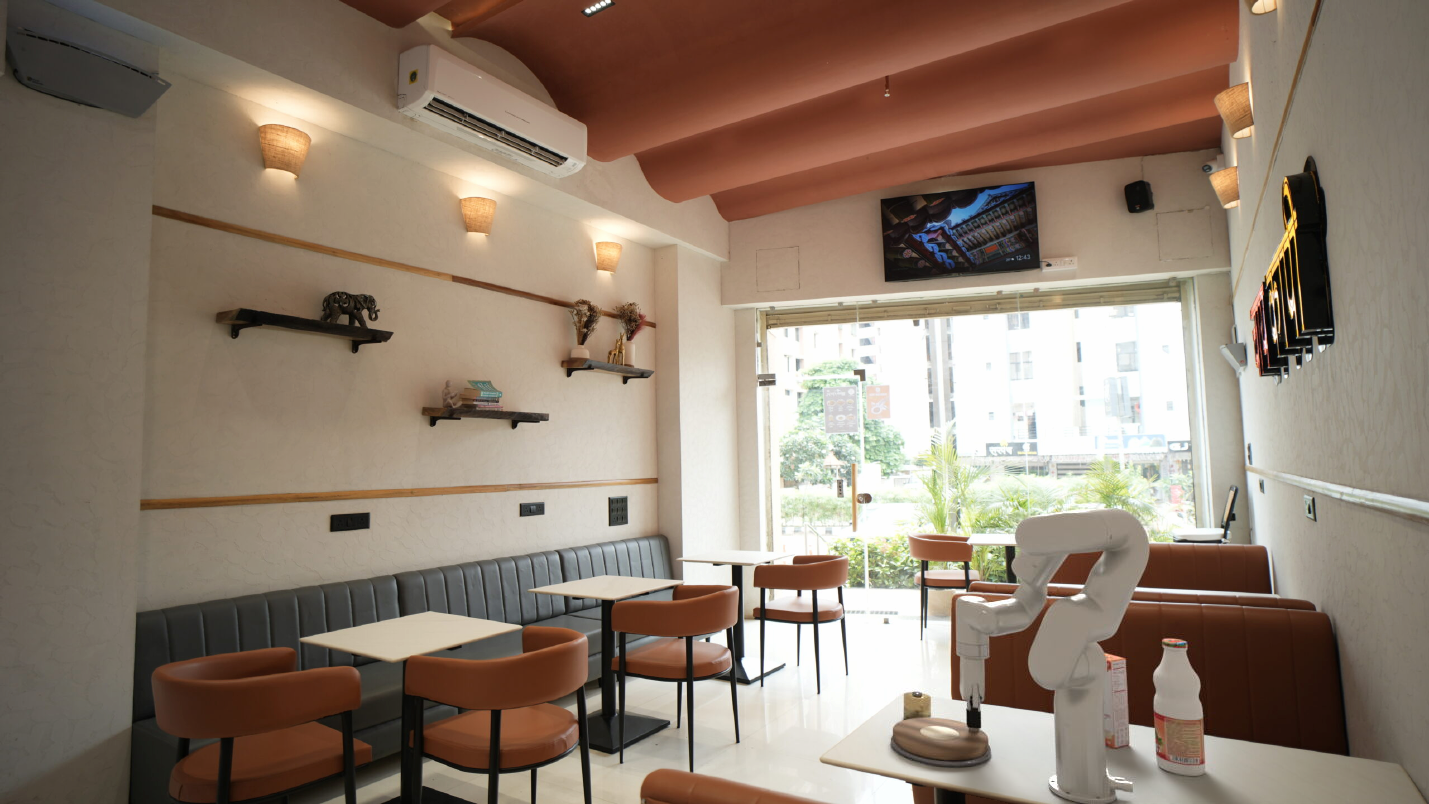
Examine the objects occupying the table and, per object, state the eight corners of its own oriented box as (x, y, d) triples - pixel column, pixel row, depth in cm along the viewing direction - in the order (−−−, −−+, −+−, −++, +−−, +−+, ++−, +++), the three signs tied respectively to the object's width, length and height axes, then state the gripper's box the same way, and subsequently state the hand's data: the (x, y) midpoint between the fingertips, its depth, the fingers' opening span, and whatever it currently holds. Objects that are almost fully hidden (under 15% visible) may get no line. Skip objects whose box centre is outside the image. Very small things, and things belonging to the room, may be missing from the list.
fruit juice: (1188, 780, 161) (1181, 647, 163) (1146, 764, 169) (1141, 638, 171) (1215, 772, 165) (1208, 643, 167) (1173, 756, 173) (1167, 634, 175)
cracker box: (1064, 730, 190) (1061, 646, 192) (1080, 726, 193) (1077, 644, 194) (1113, 749, 178) (1110, 660, 179) (1130, 745, 180) (1127, 657, 182)
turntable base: (993, 738, 185) (993, 734, 185) (987, 774, 164) (987, 769, 164) (899, 725, 194) (899, 721, 194) (882, 757, 173) (882, 753, 173)
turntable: (908, 719, 194) (908, 697, 195) (997, 736, 183) (996, 712, 183) (880, 747, 176) (879, 722, 176) (976, 767, 164) (975, 741, 164)
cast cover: (934, 718, 200) (934, 692, 200) (926, 725, 194) (926, 698, 194) (908, 713, 203) (908, 687, 204) (899, 719, 198) (900, 693, 198)
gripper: (953, 640, 188) (954, 714, 187) (959, 656, 173) (960, 736, 172) (985, 642, 186) (986, 717, 185) (993, 658, 172) (994, 740, 170)
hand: (973, 726), depth 179 cm, fingers closed
